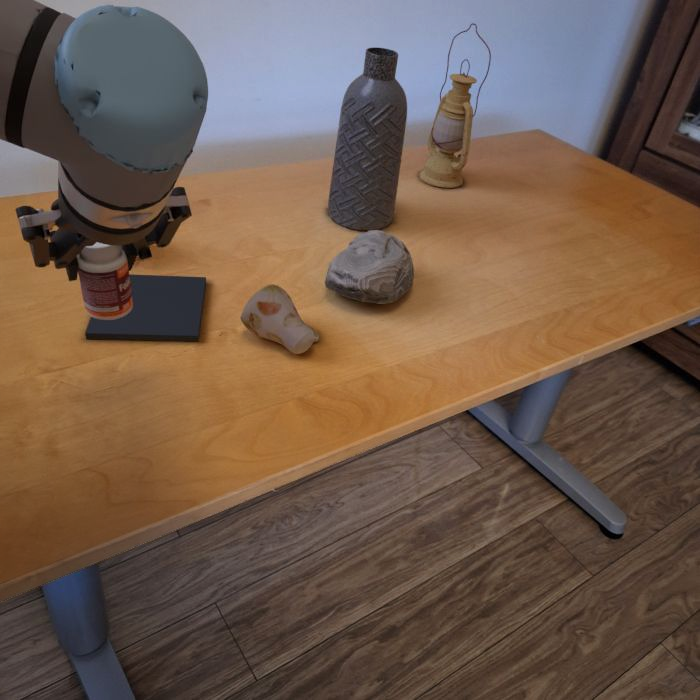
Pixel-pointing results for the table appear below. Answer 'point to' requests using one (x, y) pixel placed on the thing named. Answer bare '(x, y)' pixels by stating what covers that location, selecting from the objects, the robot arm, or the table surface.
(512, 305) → the table surface
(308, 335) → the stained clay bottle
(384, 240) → the decorative stone
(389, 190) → the vase
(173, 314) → the mat
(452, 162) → the lantern
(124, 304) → the pill bottle
